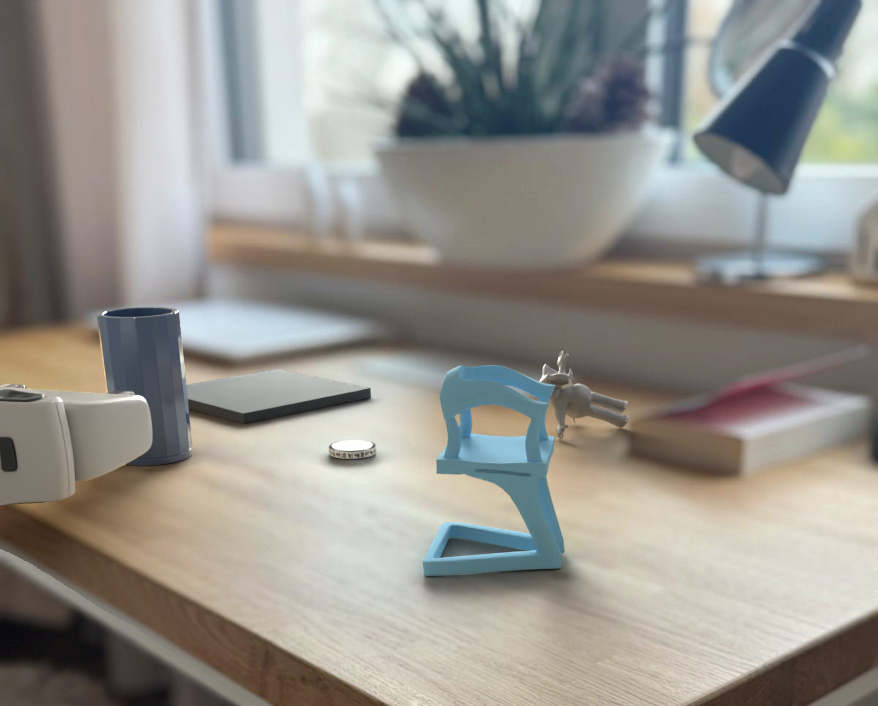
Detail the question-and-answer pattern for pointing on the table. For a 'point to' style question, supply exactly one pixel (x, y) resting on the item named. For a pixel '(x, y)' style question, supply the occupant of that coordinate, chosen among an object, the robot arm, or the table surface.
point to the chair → (499, 472)
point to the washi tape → (352, 449)
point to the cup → (150, 374)
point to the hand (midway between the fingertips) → (73, 398)
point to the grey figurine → (579, 399)
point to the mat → (269, 395)
